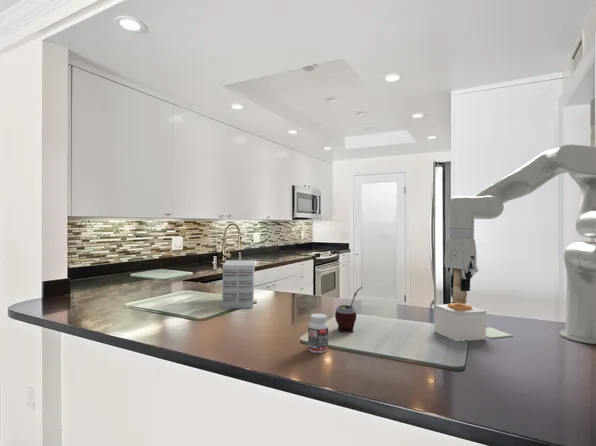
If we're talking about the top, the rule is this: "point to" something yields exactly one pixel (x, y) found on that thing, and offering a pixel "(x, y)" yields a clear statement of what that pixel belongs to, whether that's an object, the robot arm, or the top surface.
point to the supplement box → (238, 284)
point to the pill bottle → (318, 333)
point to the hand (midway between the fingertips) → (460, 289)
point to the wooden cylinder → (458, 287)
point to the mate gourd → (346, 316)
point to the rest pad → (496, 333)
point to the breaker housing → (460, 323)
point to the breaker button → (459, 306)
